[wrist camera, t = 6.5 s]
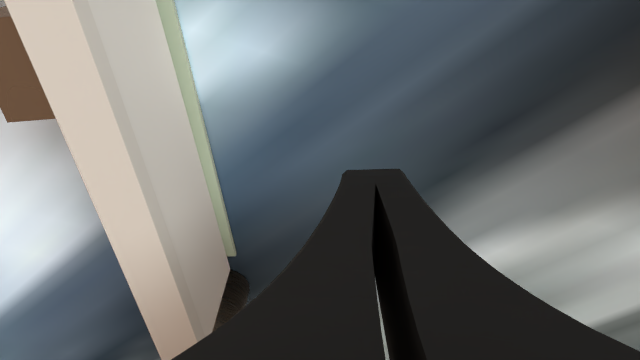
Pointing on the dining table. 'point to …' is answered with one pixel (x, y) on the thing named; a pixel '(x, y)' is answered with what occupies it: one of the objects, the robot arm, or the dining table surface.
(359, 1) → the dining table surface
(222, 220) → the sill strip
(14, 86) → the post
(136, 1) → the beige flat panel
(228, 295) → the hinge post
